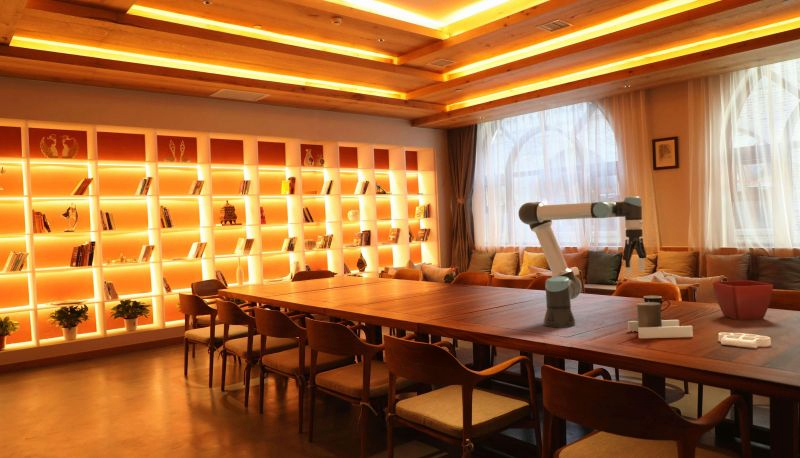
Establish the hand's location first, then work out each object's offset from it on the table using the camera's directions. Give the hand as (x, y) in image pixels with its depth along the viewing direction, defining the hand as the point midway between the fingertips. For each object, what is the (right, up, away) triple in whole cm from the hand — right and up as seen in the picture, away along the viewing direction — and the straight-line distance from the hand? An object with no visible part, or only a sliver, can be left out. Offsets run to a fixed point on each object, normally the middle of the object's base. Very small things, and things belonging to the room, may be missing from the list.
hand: (635, 272), depth 266 cm
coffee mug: (+18, -24, +17) cm, 35 cm away
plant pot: (+55, -22, +5) cm, 60 cm away
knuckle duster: (+23, -25, -46) cm, 58 cm away
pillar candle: (-3, -26, -22) cm, 34 cm away
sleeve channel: (+1, -25, -22) cm, 34 cm away
